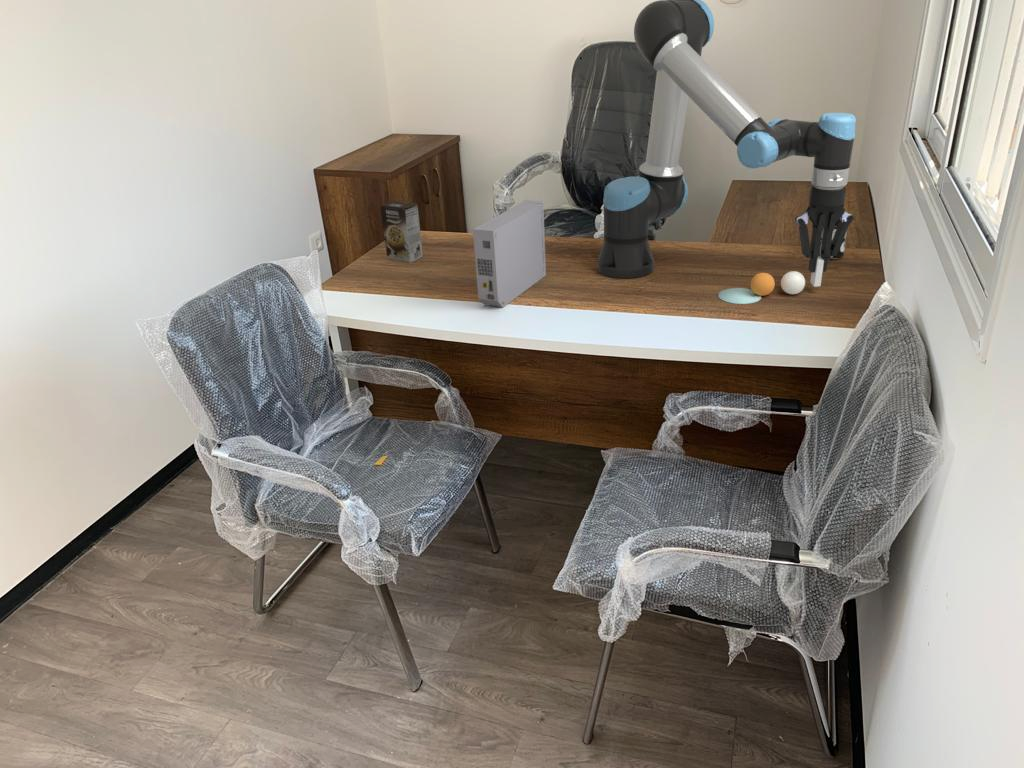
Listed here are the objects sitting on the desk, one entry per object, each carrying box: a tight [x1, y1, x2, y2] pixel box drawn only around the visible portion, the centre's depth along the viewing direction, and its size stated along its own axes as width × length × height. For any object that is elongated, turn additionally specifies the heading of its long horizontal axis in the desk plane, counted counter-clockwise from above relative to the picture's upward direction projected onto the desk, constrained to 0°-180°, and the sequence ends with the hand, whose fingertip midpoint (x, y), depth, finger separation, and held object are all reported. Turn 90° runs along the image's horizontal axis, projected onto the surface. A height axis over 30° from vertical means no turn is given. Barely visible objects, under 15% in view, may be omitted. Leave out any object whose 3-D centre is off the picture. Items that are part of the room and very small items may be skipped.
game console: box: [472, 199, 547, 308], centre depth 191 cm, size 6×27×20 cm, turn 152°
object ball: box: [750, 272, 776, 297], centre depth 182 cm, size 6×6×6 cm
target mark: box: [717, 287, 762, 305], centre depth 183 cm, size 10×10×1 cm
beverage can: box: [818, 211, 849, 259], centre depth 201 cm, size 7×7×12 cm
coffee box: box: [379, 200, 424, 264], centre depth 220 cm, size 9×6×16 cm
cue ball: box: [780, 270, 806, 295], centre depth 182 cm, size 6×6×6 cm
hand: (815, 284), depth 182 cm, fingers closed
